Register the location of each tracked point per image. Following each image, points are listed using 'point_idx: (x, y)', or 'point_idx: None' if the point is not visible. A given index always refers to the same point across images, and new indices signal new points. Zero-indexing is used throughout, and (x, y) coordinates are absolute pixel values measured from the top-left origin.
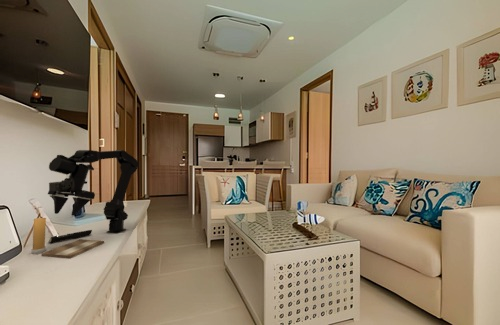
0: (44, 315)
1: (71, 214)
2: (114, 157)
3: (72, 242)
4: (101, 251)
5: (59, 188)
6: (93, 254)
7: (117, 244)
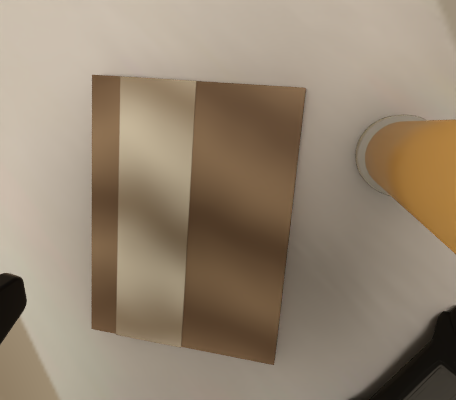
0: None
1: (10, 280)
2: None
3: (270, 297)
4: (19, 194)
5: None
6: (27, 148)
7: None
